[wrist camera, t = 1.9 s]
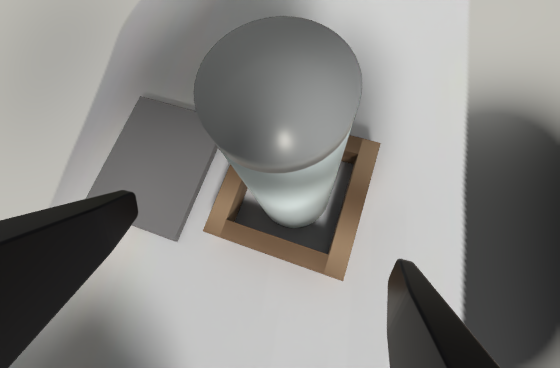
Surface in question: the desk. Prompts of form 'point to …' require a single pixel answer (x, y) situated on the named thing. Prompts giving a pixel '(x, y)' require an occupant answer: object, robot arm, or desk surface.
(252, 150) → the pale grey cylinder
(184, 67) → the desk surface
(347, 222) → the walnut collar
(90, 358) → the desk surface
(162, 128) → the rubber mat
